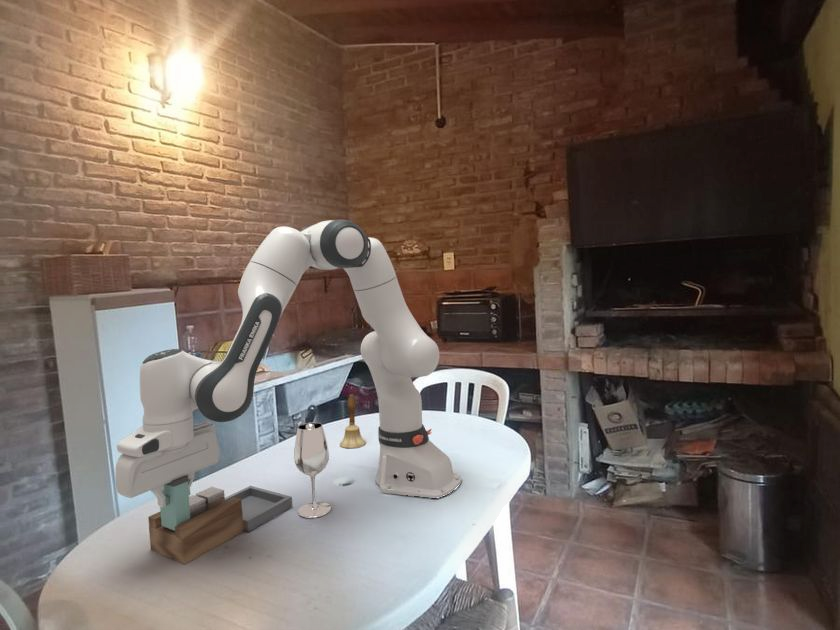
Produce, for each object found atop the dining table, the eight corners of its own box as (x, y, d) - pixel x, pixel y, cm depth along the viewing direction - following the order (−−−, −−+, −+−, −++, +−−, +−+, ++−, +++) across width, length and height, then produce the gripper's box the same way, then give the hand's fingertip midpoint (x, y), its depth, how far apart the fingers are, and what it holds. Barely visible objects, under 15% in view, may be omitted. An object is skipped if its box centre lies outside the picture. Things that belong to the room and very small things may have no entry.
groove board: (243, 530, 110) (241, 499, 109) (185, 564, 98) (182, 529, 97) (210, 519, 116) (208, 489, 115) (150, 549, 104) (147, 516, 103)
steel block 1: (206, 517, 106) (205, 498, 106) (189, 526, 103) (187, 506, 102) (194, 513, 108) (193, 495, 108) (176, 521, 105) (175, 502, 104)
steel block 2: (225, 508, 110) (224, 490, 110) (209, 516, 107) (208, 497, 106) (213, 504, 112) (211, 486, 112) (197, 511, 109) (195, 493, 108)
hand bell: (352, 438, 168) (350, 390, 167) (371, 442, 164) (369, 393, 162) (334, 445, 162) (331, 396, 160) (353, 450, 157) (351, 399, 155)
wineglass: (302, 522, 113) (297, 433, 111) (293, 508, 120) (288, 424, 118) (336, 513, 117) (331, 427, 115) (326, 500, 123) (321, 419, 122)
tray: (292, 506, 120) (291, 496, 120) (248, 532, 109) (247, 521, 109) (251, 495, 127) (250, 485, 127) (205, 518, 116) (205, 507, 116)
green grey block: (161, 525, 102) (157, 477, 101) (175, 519, 105) (172, 471, 104) (176, 531, 100) (173, 481, 99) (191, 524, 102) (187, 476, 101)
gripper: (204, 416, 111) (209, 478, 112) (107, 446, 93) (114, 519, 95) (224, 420, 108) (228, 483, 109) (127, 452, 90) (134, 527, 92)
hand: (174, 500), depth 102 cm, fingers closed on green grey block, 3 cm apart
